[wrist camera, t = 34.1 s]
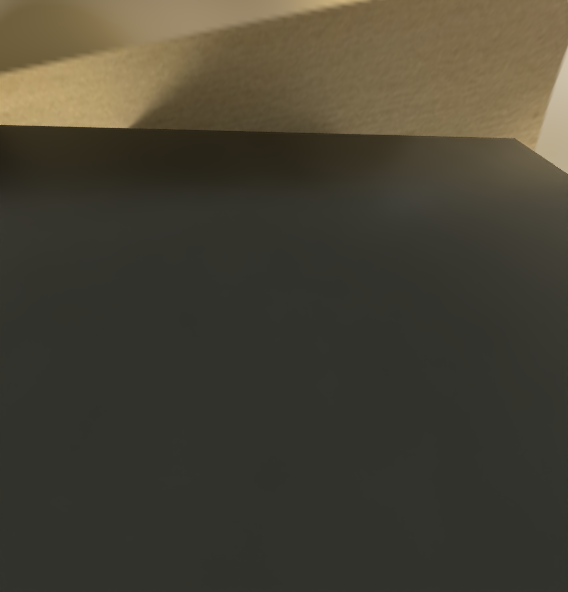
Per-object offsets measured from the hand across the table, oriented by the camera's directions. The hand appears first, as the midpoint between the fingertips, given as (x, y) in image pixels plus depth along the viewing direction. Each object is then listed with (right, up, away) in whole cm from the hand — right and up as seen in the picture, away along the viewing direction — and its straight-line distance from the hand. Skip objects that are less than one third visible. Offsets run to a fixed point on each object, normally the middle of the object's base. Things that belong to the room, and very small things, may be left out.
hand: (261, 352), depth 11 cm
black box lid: (+2, 0, -8) cm, 8 cm away
